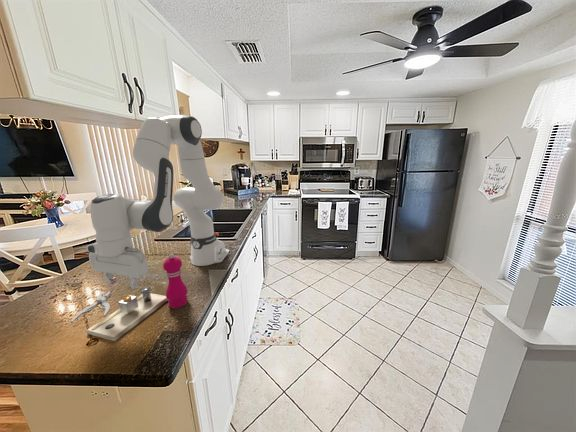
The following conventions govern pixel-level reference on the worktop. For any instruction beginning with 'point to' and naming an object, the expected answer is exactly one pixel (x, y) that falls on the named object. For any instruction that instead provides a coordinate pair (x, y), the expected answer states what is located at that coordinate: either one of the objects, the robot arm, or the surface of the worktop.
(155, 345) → the worktop surface
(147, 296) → the fixed leg
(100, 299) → the pliers
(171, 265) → the pepper mill
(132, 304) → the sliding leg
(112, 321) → the board
